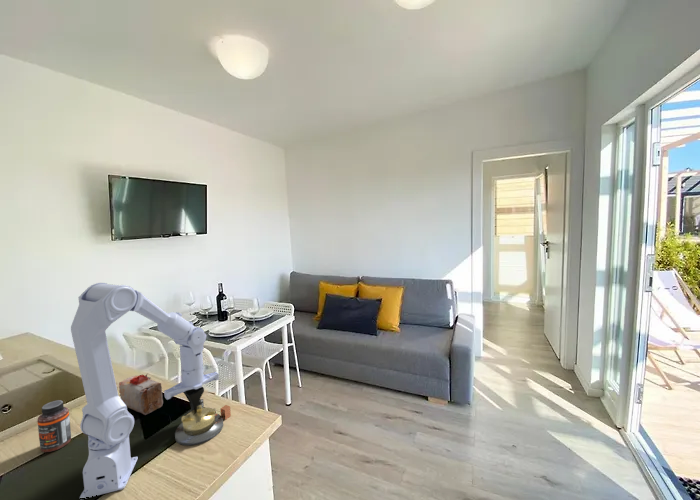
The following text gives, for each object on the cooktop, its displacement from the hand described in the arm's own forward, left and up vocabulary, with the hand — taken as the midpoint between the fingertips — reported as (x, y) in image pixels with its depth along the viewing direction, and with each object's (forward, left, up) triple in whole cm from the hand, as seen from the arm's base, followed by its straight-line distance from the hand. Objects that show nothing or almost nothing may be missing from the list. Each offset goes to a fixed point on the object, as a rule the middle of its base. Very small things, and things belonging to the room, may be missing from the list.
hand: (194, 411), depth 90 cm
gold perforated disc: (-3, -2, -1) cm, 4 cm away
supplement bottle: (+1, +33, -3) cm, 33 cm away
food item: (+14, +17, -3) cm, 22 cm away
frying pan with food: (-5, -3, -2) cm, 6 cm away
